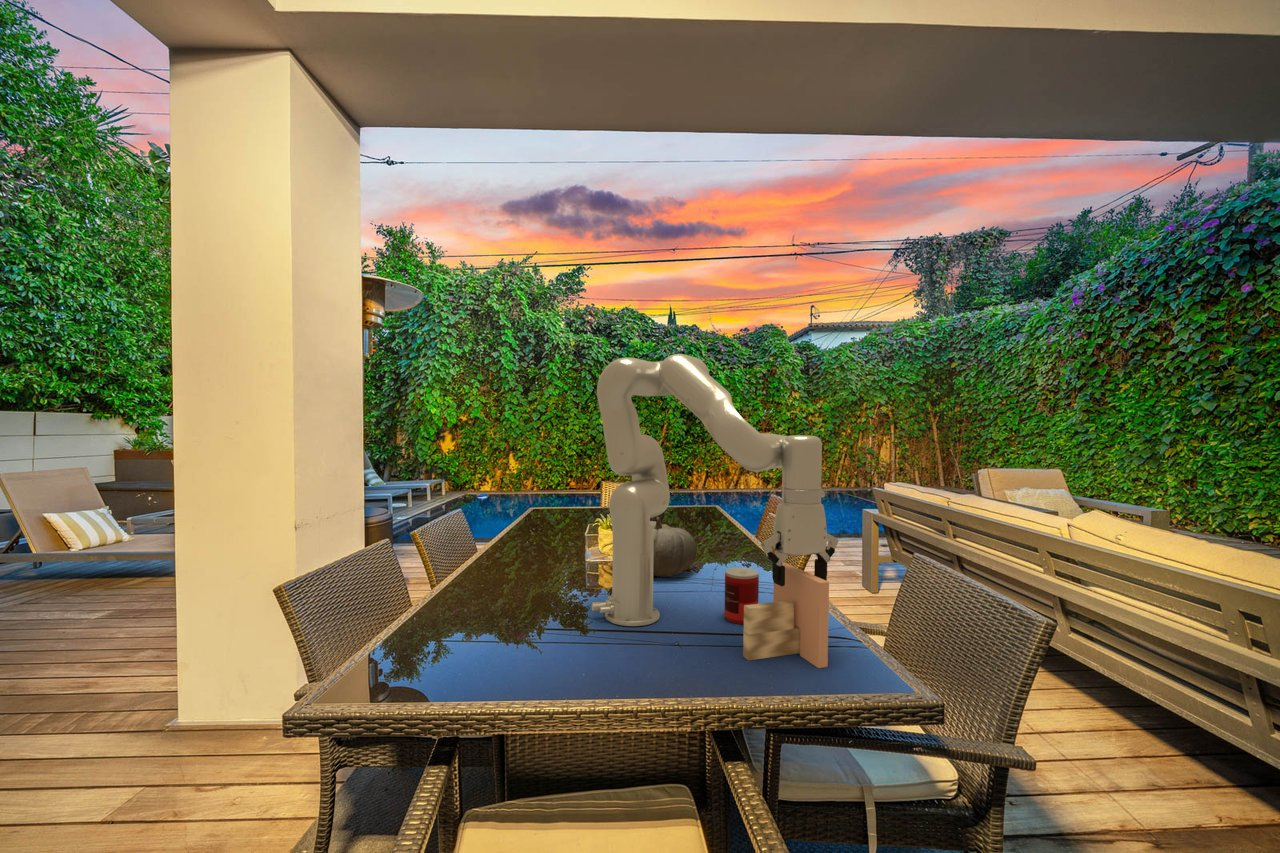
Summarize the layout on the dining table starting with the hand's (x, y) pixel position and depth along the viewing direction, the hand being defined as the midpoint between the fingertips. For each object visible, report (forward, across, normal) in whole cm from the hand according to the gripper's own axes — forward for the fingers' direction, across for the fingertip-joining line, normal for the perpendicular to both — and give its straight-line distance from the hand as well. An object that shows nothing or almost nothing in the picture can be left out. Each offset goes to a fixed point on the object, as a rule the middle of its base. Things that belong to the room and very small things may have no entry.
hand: (799, 582), depth 114 cm
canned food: (+14, +2, -20) cm, 24 cm away
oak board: (+14, +3, 0) cm, 14 cm away
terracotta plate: (+14, 0, 0) cm, 14 cm away
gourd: (+14, +7, -64) cm, 66 cm away
